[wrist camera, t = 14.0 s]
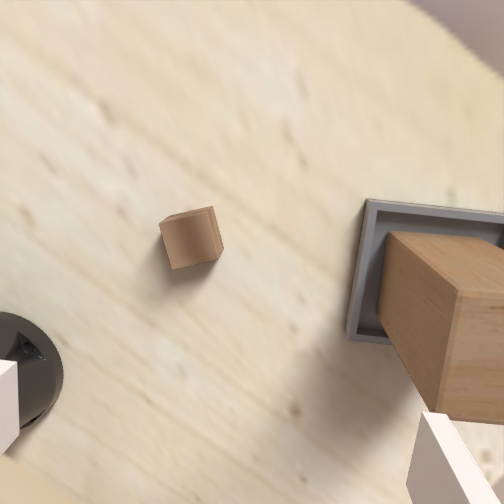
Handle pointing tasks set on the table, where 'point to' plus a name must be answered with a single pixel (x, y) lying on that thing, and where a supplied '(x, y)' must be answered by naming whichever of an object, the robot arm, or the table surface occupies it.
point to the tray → (373, 247)
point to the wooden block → (447, 320)
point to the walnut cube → (192, 237)
